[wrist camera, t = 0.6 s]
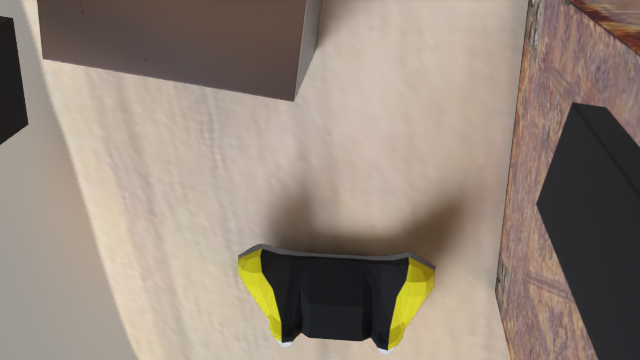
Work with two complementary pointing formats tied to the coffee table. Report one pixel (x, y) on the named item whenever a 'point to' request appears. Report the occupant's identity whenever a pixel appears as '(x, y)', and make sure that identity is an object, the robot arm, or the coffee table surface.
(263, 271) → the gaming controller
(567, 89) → the book
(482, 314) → the coffee table surface
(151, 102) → the coffee table surface
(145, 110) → the coffee table surface
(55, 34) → the chest lid
